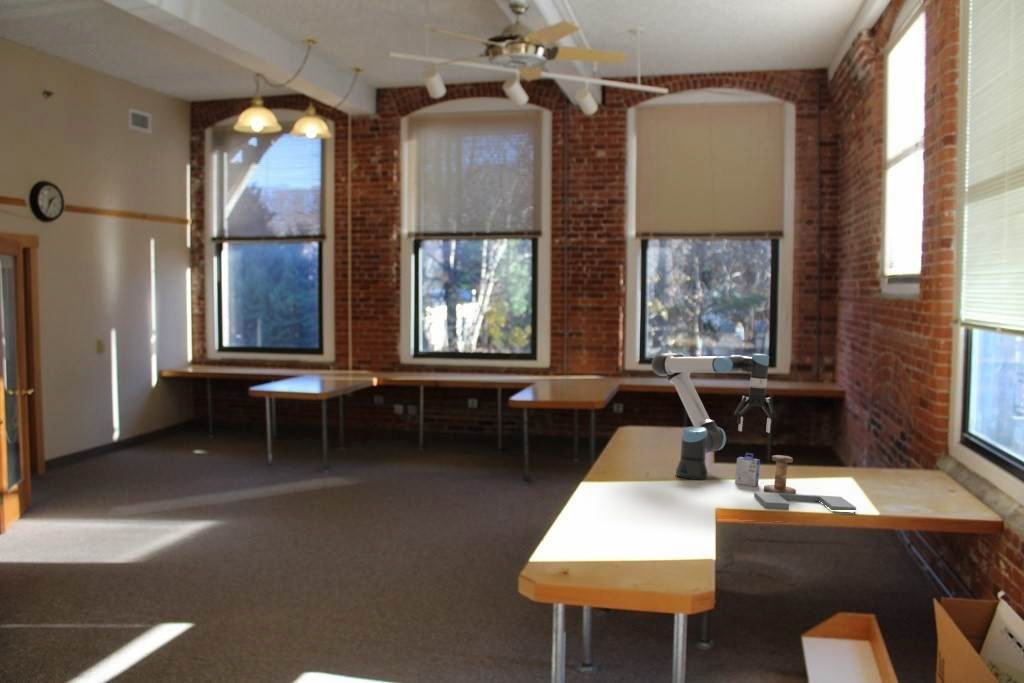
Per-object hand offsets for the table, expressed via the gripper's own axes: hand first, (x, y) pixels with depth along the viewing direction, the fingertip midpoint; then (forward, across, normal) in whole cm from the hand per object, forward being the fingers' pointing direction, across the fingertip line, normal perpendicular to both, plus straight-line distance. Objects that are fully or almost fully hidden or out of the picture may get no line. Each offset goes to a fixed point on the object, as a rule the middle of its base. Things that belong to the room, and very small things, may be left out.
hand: (753, 431), depth 410 cm
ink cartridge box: (+25, -2, -3) cm, 25 cm away
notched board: (+24, +10, -38) cm, 46 cm away
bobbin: (+24, +8, -16) cm, 30 cm away
